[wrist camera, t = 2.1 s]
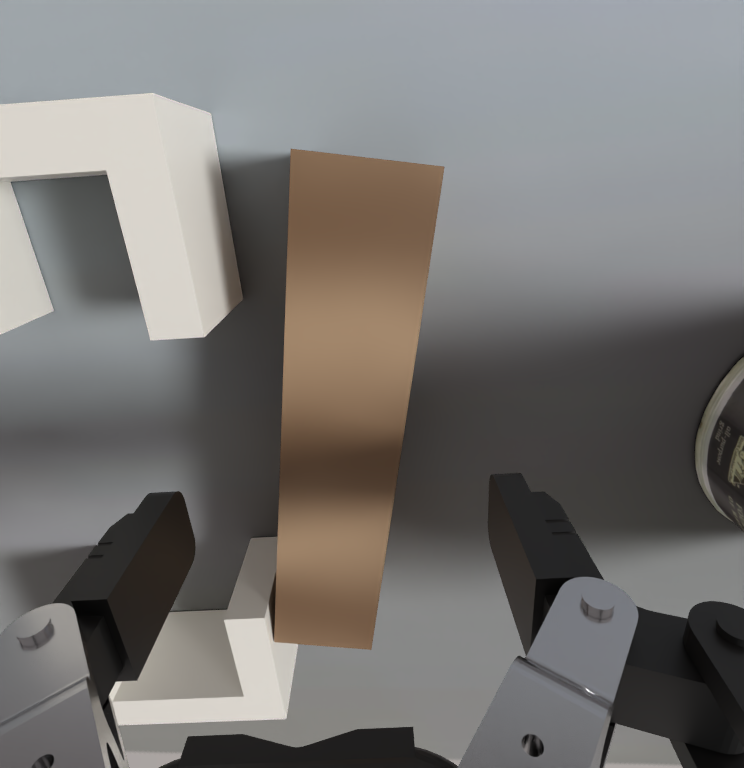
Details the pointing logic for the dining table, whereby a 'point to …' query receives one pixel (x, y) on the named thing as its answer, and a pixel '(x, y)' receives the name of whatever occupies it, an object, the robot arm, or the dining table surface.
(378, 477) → the slat
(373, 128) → the dining table surface
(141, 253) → the end caps
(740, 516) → the coffee can
